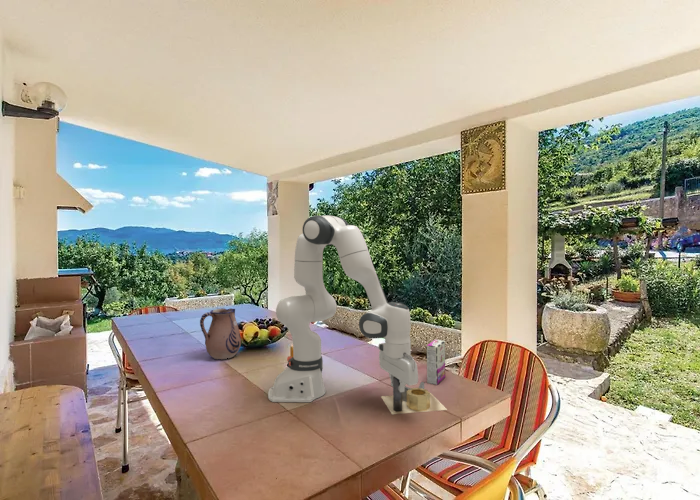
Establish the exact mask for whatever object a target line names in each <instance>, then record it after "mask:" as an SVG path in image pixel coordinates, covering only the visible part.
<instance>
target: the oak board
mask: <svg viewBox="0 0 700 500" xmlns="http://www.w3.org/2000/svg"><path fill="white" fill-rule="evenodd" d="M429 393H430V408H429V409H428V410H426V411H415V410H412V409H409V408H408V406H407V402H405V401H403V400H402V411H394V410H393V394H392V395H381V396H380V398H381V399H382V400H383V403H384V404H385V405H386V407H387V409H388V410H389V412H390V414H391V415H401V414H412V413H414V414H416V413H423V412H424V413H425V412H426V413H427V412H439V411H448V408H446V407H445V405H444V404H443V403H441V402H440V400H439V399H438V398H436V396H434V394H433V393H431V392H429Z"/></svg>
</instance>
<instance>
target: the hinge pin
mask: <svg viewBox="0 0 700 500" xmlns="http://www.w3.org/2000/svg"><path fill="white" fill-rule="evenodd" d="M398 386H400V382H399V379H397V378H396V377H393V387H392V393H393V394H392V395H393V410H394V411H402V392H400V391H398Z"/></svg>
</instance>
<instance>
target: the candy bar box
mask: <svg viewBox="0 0 700 500" xmlns="http://www.w3.org/2000/svg"><path fill="white" fill-rule="evenodd" d="M445 378H446V341H445V340H441V339H434V340H433V341H431V342H430V343H428V344H427V345H426V383H427V384H430V385H434V386H435V385H436V386H438V385H439V384H440V383H441V382H442V381H443V380H444V379H445Z"/></svg>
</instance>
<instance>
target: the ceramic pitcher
mask: <svg viewBox="0 0 700 500" xmlns="http://www.w3.org/2000/svg"><path fill="white" fill-rule="evenodd" d="M207 317H211V318H212V320H211V322H210V325H209V329H208V332H207V331H206V328H205V323H204V321H205V320H206V318H207ZM199 326H200V328H201V329H200V330H201V332H202V334H203V336H204V339H205V340H204V345H205V348H206V352H207V353H208V355H209V356H210V357H211V358H213V359H215V360H218V359H221V360H228V359H232V358H233V357H234V356H235V355H237V354H238V352H239V351H240V348H241V347H242V346H241V344H242V338H241V333H240V328H239V326H238V321H237V319H236V308H229V309H227V308H224V307H222V308H215V309H212V310H210V311H209V312H204V313H203V314H202V315H201V317H200V320H199ZM227 358H228V359H227Z"/></svg>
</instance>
